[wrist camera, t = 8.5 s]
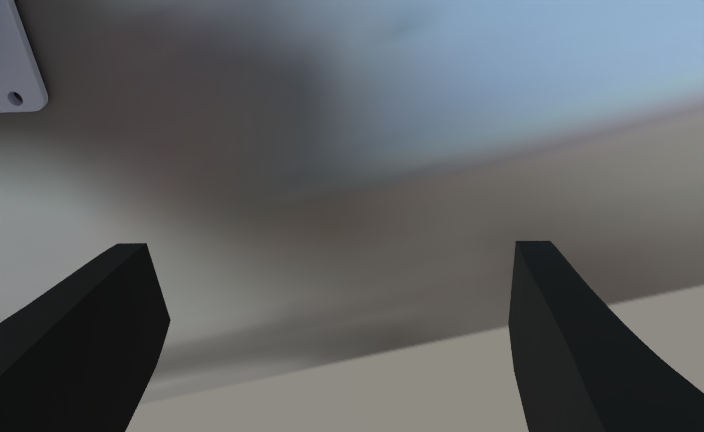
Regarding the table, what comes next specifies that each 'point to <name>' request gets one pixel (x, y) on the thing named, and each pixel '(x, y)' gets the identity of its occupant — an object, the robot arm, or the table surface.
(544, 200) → the table surface
